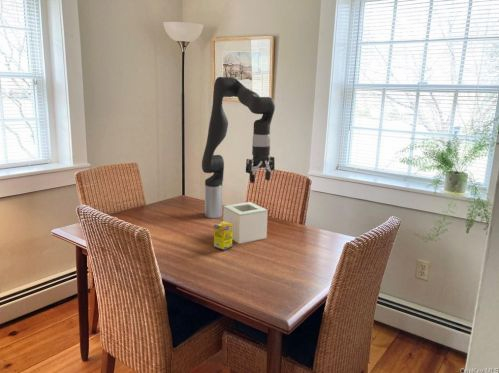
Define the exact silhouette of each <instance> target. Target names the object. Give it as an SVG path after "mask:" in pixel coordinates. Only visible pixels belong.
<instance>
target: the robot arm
mask: <svg viewBox="0 0 499 373" xmlns="http://www.w3.org/2000/svg"><path fill="white" fill-rule="evenodd" d="M213 84H214V85H213V86H214V87H213V93H212V94H213V95H212V96H213V97H212V107H211V112H210V113H211V114H210V119H209V122H208V123H209V125H208V131H207V137H206V143H205V147H204V151H203V152H204V153H203V155H202V160H201V169H202V172H203V173H204V174H205V173H206V174H212V175H211V176H209V177H208V178H206V179H205V180H204V216H205V217H206V218H208V219H218V218H221V217H223V181H224V173H225V170H224V169H225V161H224V158H223V156H222V155H220V154H215V151H216V149H217V148H218V147H219V145H221V143H222V142H223V141H224V139H225V138H226V136H227V132H228V128H229V120H228V118H227V115H226V113H225V110H224V108H223V101H224V98H234V97H235V98H237V99H238V101H239V103H240V104H242V105H243V106H245V107H247V108H248V110H250V113H252V114H254V115H262V116H261V118H259V119H256V120H254V122H253V133H252V145H251V146H252V150H251V155H252V158H251V159H250V158H247V159H245V160H246V162H245V164H246V165H245V173H247V174H249V182H250V183H251V184H254V183H255V181H256V180H255V177H256V175H255V173H256V172H257V171H258V170H259V169H264V171H265V178H264V180H265V181H267V182H268V181H270V179H271V172H272V171H275V157H274V156H270V152H271V151H270V150H271V123H272V120H273V116H274V112H275V108H276V103H275V100H274V98H272V97H269V96H260V95H259V94H258V93H257V92H255V91H254V90H251V89H249V88H247V87H246V86H245V85H243V83H242V82H240V80H238V79H237V78H236V77H231V76H217V77H216V79H215V81H214V83H213Z"/></svg>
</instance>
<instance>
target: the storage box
mask: <svg viewBox="0 0 499 373" xmlns="http://www.w3.org/2000/svg"><path fill="white" fill-rule="evenodd" d="M268 212H269V210H268V209H266V208H265V207H263V206H260V205H258V204H256V203H254V202H251V201H247V202H241V203H235V204H234V203H233V204H228V205H223V210H222V217H223V219H222V222H223V221H224V222H227V223H231V224H233V235H232V241H234V242H235V243H237V244H239V245H240V244H245V243H249V242H254V241H260V240H263V239H267V238H268V236H267V235H268Z"/></svg>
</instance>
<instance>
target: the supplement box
mask: <svg viewBox="0 0 499 373" xmlns="http://www.w3.org/2000/svg"><path fill="white" fill-rule="evenodd" d="M213 225H214V226H213V229H214V230H213V248H214V249H217V250H220V251H222V252H224V251H227V250H229V249H231V248H233V239H232V235H233V224H231V223H227V222H224V221H223V220H222V221H221V222H218V223H214V224H213Z"/></svg>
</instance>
